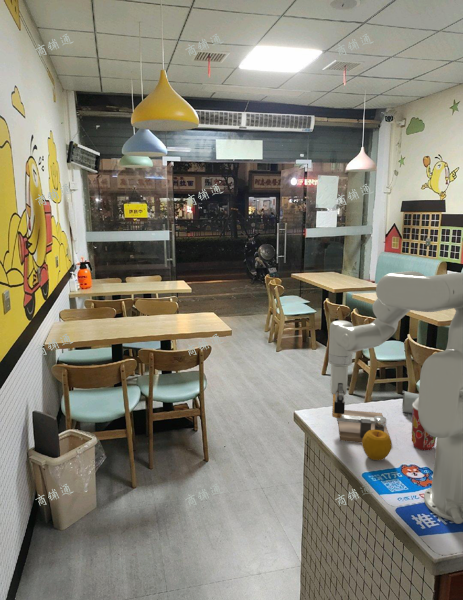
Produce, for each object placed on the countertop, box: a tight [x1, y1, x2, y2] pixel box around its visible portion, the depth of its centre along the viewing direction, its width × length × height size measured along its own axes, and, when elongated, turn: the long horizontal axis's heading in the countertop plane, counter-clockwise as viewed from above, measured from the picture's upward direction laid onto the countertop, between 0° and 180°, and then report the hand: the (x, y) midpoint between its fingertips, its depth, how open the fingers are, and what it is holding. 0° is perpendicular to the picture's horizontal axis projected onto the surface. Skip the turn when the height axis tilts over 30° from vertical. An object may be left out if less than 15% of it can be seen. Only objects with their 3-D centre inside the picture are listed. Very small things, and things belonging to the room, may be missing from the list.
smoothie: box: [411, 397, 437, 451], centre depth 136 cm, size 8×8×20 cm
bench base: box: [337, 409, 391, 444], centre depth 149 cm, size 20×16×7 cm
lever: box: [331, 392, 387, 427], centre depth 144 cm, size 18×4×10 cm, turn 79°
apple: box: [361, 430, 392, 461], centre depth 131 cm, size 9×8×9 cm
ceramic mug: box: [401, 391, 419, 414], centre depth 162 cm, size 11×8×8 cm
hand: (338, 406), depth 145 cm, fingers open, 9 cm apart
